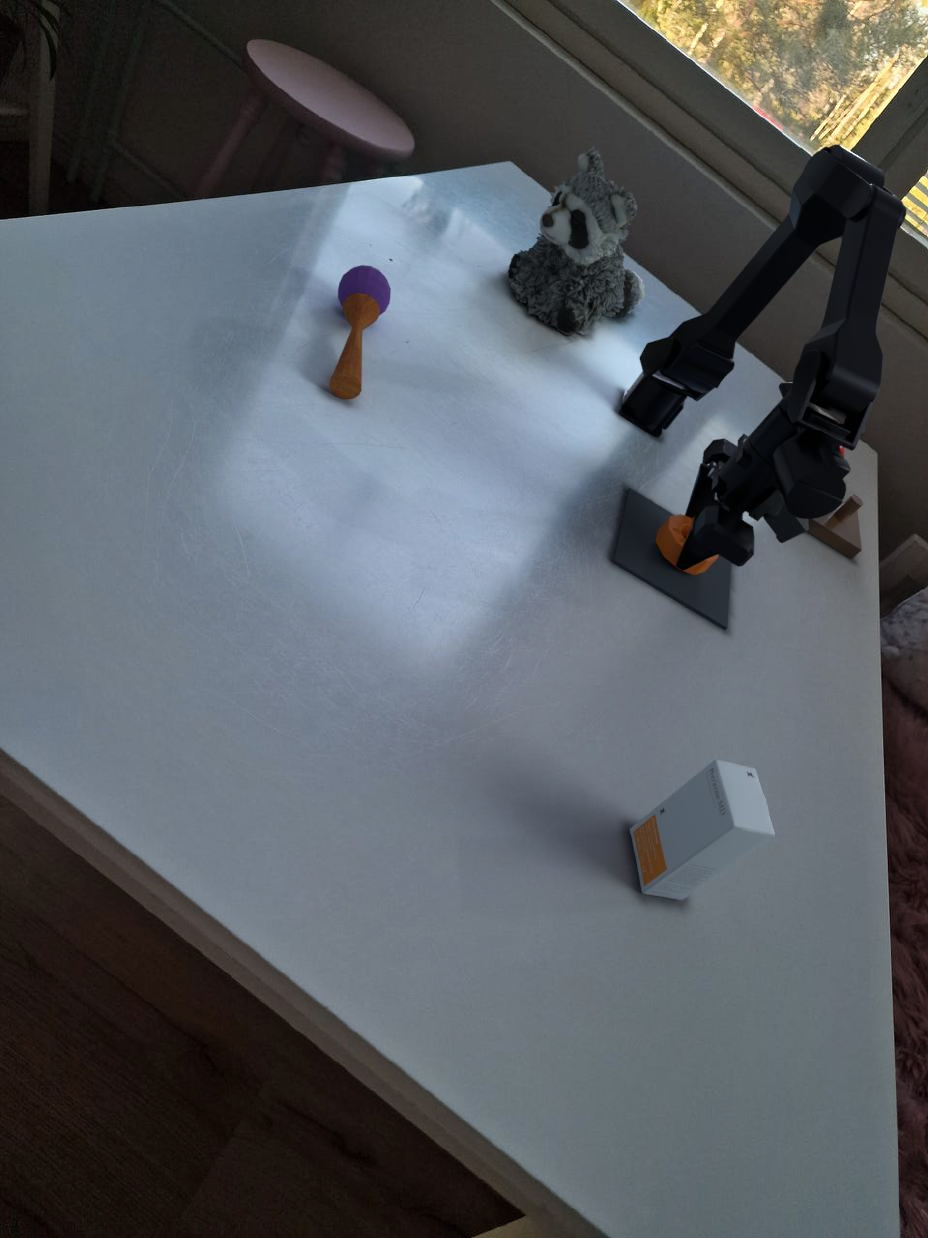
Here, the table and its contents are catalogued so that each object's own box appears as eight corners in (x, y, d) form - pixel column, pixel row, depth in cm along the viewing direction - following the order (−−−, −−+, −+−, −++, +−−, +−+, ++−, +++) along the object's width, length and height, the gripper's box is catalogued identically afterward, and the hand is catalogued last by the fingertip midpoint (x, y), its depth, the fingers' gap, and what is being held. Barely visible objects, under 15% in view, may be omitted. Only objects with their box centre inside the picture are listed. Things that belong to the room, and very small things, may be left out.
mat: (612, 562, 108) (614, 559, 108) (627, 489, 119) (629, 487, 119) (725, 630, 110) (727, 627, 110) (730, 552, 121) (732, 550, 121)
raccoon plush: (470, 281, 134) (550, 136, 120) (570, 248, 158) (647, 124, 144) (553, 353, 132) (645, 216, 118) (642, 309, 156) (727, 190, 142)
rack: (768, 507, 134) (795, 478, 130) (768, 469, 141) (794, 441, 138) (851, 559, 136) (880, 533, 132) (847, 519, 143) (875, 493, 140)
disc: (653, 554, 111) (666, 539, 109) (659, 519, 116) (671, 504, 115) (703, 584, 112) (717, 570, 110) (707, 548, 117) (720, 534, 116)
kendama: (322, 355, 99) (347, 248, 112) (312, 401, 104) (337, 293, 116) (380, 371, 100) (398, 263, 113) (367, 415, 105) (386, 307, 118)
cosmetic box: (626, 828, 84) (714, 755, 76) (667, 837, 86) (757, 766, 78) (639, 896, 80) (733, 826, 72) (682, 903, 82) (778, 836, 74)
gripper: (837, 541, 98) (736, 635, 108) (830, 447, 112) (741, 538, 122) (744, 483, 96) (651, 584, 106) (749, 395, 110) (666, 492, 120)
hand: (681, 549), depth 114 cm, fingers closed on disc, 7 cm apart
